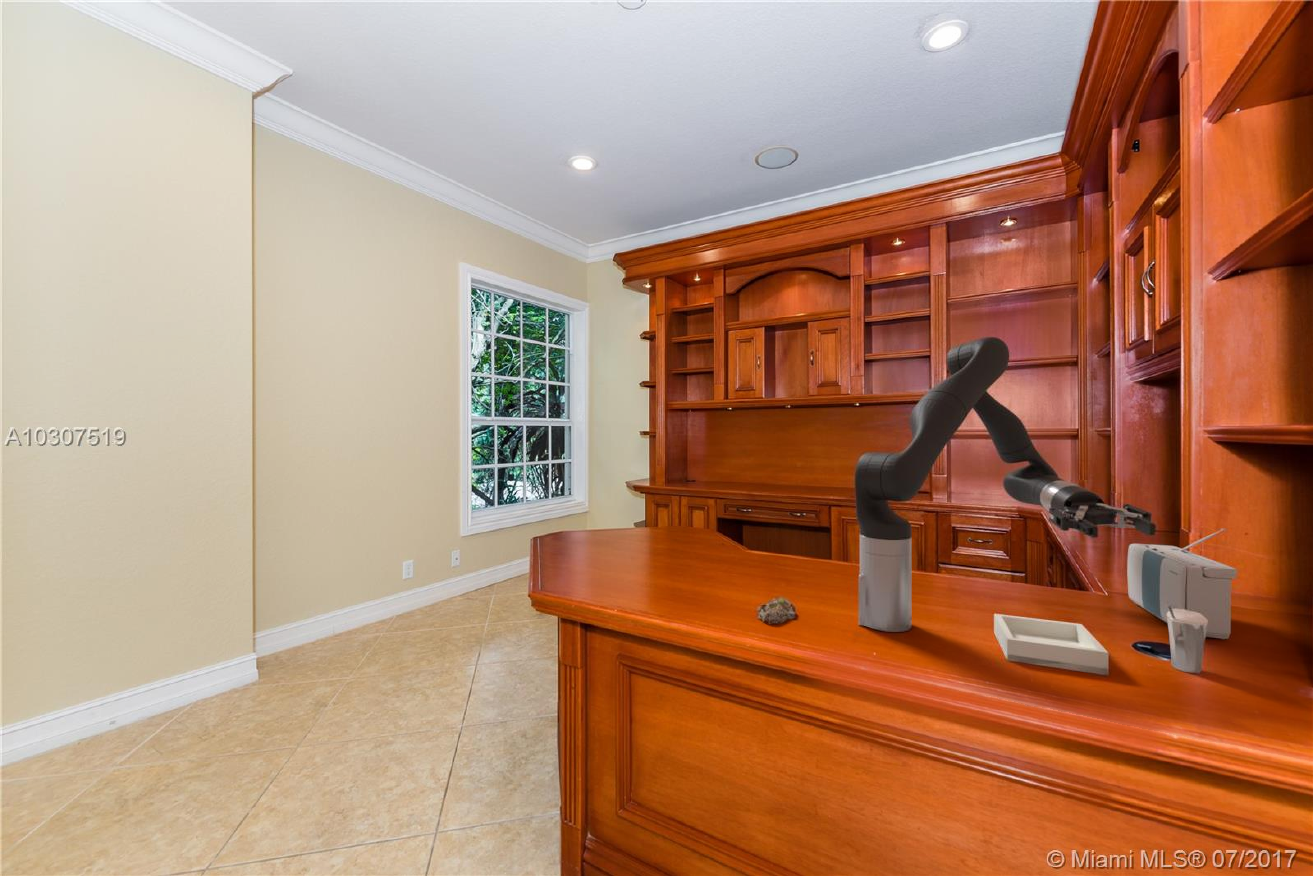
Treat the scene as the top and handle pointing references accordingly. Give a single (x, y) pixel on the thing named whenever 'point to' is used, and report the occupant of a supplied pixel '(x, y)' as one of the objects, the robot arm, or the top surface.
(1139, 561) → the stereo radio cassette player
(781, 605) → the mineral rock
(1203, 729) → the top surface
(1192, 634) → the milkshake
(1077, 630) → the tray
